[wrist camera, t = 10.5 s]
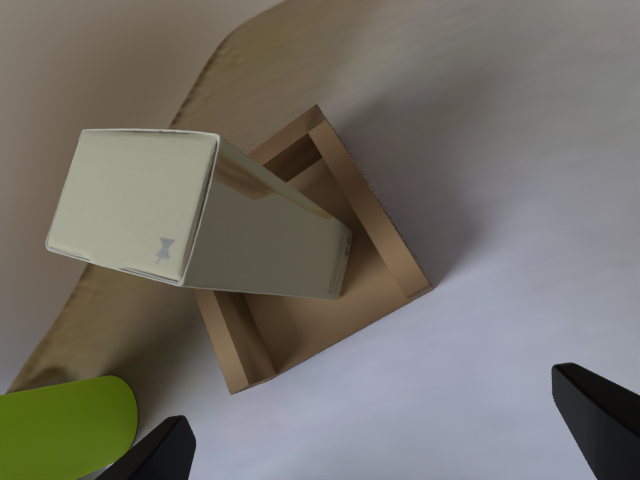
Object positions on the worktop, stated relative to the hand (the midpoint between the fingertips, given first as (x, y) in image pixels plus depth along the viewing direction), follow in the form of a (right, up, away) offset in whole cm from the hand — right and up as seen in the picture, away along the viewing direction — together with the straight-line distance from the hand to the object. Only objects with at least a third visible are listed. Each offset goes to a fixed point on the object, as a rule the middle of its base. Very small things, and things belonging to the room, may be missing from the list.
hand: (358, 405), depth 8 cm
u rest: (-2, +3, +14) cm, 14 cm away
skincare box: (-2, +3, +13) cm, 14 cm away
